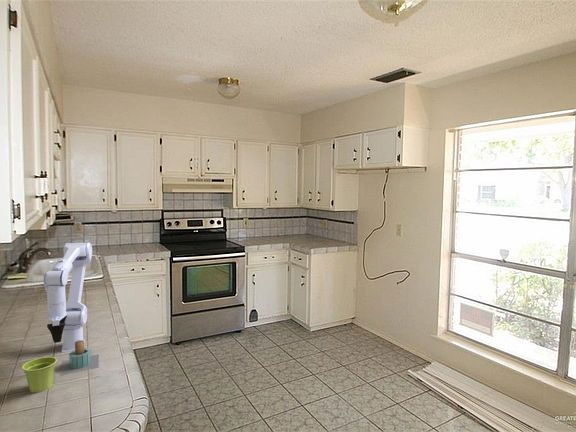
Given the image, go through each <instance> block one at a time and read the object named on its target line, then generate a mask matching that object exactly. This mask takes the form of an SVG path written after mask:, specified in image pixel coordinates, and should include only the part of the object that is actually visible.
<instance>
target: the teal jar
mask: <svg viewBox="0 0 576 432" xmlns="http://www.w3.org/2000/svg"><path fill="white" fill-rule="evenodd" d="M84 351H85V354H82V355H75V350H73V351H70V352H69V354H68V356H69V359H68V360H69V362H70V368H72V369H79V368H84V367H86V366H88V365H89V364H91V356H92V354H91V349H90V348H86V347H84Z"/></svg>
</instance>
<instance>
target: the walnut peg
mask: <svg viewBox="0 0 576 432" xmlns="http://www.w3.org/2000/svg"><path fill="white" fill-rule="evenodd" d="M84 340H85V339H83V340H79V341H76V342H75V355H82V354H85V351H84V348H85V345H84Z"/></svg>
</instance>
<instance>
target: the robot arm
mask: <svg viewBox="0 0 576 432" xmlns="http://www.w3.org/2000/svg"><path fill="white" fill-rule="evenodd" d="M92 256H93V246H92V243H90V242H66V243H65V244H64V245H63V257H62V258H61V259H59V260H57V261H56V263H55V264H54V265H53V267H52V268H51V270H48V271H47V272H45V273H44V276H43V280H42V282H43V286H44V290H45V292H46V296H47V297H46V299H47V314H45V315H44V316H43V317H44V319H48V320H49V321H51V323H47V325H46V328H47V329H48V330H49V332H50V334H51V338H52V341H53V343H54V344H56V343H61V342H62V346H61V353H65V352H67V353H68V352H72V351H74V350H75V342H76V341H79V340H84V346H85V342H86V341H85V339H84V327H83V326H84V325H85V324H87V320H88V307H87V306H86V305H85V304H84V303H83V302H82V295H83V288H84V282H85V275H86V269H87V265H88V264H90V263H91V261H92ZM71 270H72V273H71V277H70V278H71V279H70V284H69V291H68V296H67V298H66V285H67V284H68V280H69V274H70V272H71ZM66 301H67V302H66Z"/></svg>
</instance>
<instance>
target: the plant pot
mask: <svg viewBox="0 0 576 432" xmlns="http://www.w3.org/2000/svg"><path fill="white" fill-rule="evenodd" d="M57 361H58V360H57V358H56V357H54V356H45V357H38V358H34V359H32V360H29V361H27V362H26V363H24V364H23V365H22V367H21V369H22V370H23V372H24V374H25V376H26V381H27V386H28V389H29V392H30V393H33V394H34V393H41V392H45V391H47V390H49V389H50V388H51V387H52V386H53V382H54V381H53V380H54V372H55V366H56V363H57Z"/></svg>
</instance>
